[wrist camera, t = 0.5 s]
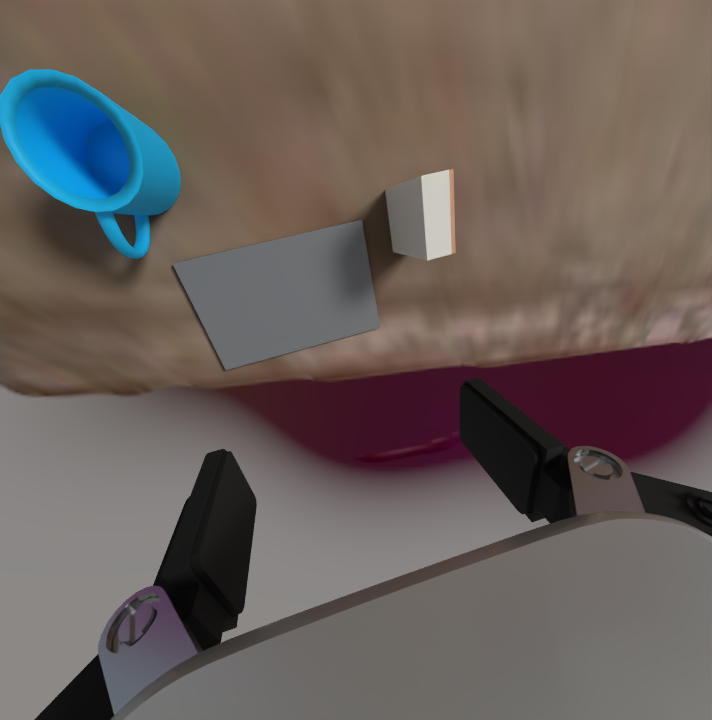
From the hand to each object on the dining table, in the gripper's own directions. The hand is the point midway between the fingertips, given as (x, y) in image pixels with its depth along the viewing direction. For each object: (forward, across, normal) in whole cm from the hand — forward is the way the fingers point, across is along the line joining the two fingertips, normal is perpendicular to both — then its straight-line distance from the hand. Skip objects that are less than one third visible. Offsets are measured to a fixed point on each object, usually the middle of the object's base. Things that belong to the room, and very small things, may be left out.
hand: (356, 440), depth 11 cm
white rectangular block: (+28, -13, -7) cm, 31 cm away
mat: (+28, +3, 0) cm, 28 cm away
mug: (+28, +14, -14) cm, 34 cm away
